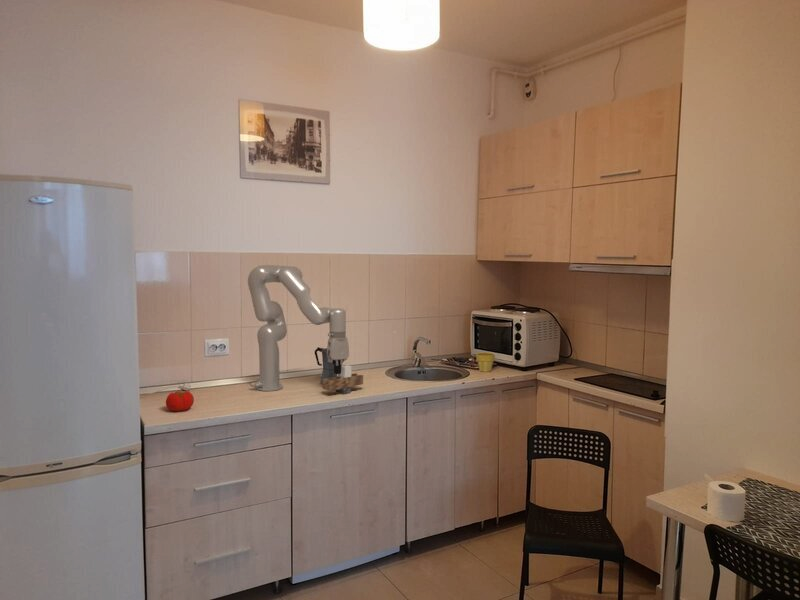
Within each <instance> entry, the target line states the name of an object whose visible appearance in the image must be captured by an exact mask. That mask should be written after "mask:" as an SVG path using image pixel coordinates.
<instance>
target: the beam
mask: <svg viewBox="0 0 800 600" xmlns="http://www.w3.org/2000/svg"><path fill="white" fill-rule="evenodd" d="M362 385H364V375H363V374H358V373H356V372H355V373H351V377H347V378H341V379H340V376H338V375H337V377H332V378H326V379H322V383H321V389H323V390H326V391H329V392H331V391H335V393H338V394H341V395H348V394H351V387H355V386H356V387H357V386H362Z"/></svg>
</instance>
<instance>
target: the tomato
mask: <svg viewBox="0 0 800 600" xmlns="http://www.w3.org/2000/svg"><path fill="white" fill-rule="evenodd" d="M194 398H195V397H194V395H193V393H191V392H190V391H188V390H185V391H180V390H179V391H178V390H177V391H174V392H171V393H169V394H168V395H167V396H166V399H165V406H166V408H167V409H168V410H170V411H173V412H176V413H177V412H183V411H187V410H189V409H191V408H192V406H193V405H194V404H195V403H194V401H195V399H194Z"/></svg>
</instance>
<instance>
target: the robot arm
mask: <svg viewBox="0 0 800 600" xmlns="http://www.w3.org/2000/svg"><path fill="white" fill-rule="evenodd" d="M269 283H281V284H282V285H283V286H284V287H285V289H287V291H288V292H289V293H290V295H291V296H292V297H293V298H294V299H295V300H296V303H297V307H298V308H299V310H300V311H301V313H302V314H303V316H305V318H306V319H307V320H308V321H309V322H310V323H312V324H313V325H315V326H321V325H324V324H327V323H329V333H328V334H327V337H328V340H327V347H326V348H327V358H328V362H330V363H332V364H333V365H334V373H335V374H337V375H338V374H341V365H343V363H344V362H346V361H347V360H348V359H349V357H350V347H349V345H350V344H349V340H348V337H347V336H346V334H347V333H346V332H347V331H346V328H347V327H346V325H347V324H346V323H347V321H346V319H347V318H346V317H347V314H346V310H345V309H344V308H331V307H318V306H317V305H316V303H315V302H314V301H313V300H312V298H311V288H310V286H309V285H308V284H307V283H306V282H305V281H304V280H303V272H302V270H301V269H300V268H299V267H298V266H294V265H293V266H291V265H289V266H287V265H279V264H278V265H277V264H275V265H274V264H272V265H271V264H264V265H258V266H256V267H254V268H253V269H252V270H251V271H250V272H249V274H248V277H247V286H248V289H249V293H250V296H251V297H250V298H251V302H252V307H253V310H254V311H253V312H254V315H255V318H256V319H257V321H259V322H262V323H263V322H264V323H265V322H267V323H266V324H264V325H261V326H260V327H259V328H258V330H257V333H256V334H257V335H256V336H257V338H256V339H257V343H258V356H259V357H258V360H259V369H258V371H259V372H258V373H259V377H258V378H259V379H257V381H255V382H249V383H250V384H249V386H250V388H253V387H256V388H255V389H256V390H258V391H261V392H269V391H270V392H274V391H279V390H282V389H283V388H284V385H283V384H281V383H280V348H279V344H278V342H280V341H282V340H283V339H285V338H286V336H287V333H288V329H287V324H286V319H285V315H284V311H283V307H282V306H281V304H280V303H279V302H277V301H275V300H271V297H270V293H269V290H268V288H267V286H266V284H269Z"/></svg>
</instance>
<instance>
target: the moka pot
mask: <svg viewBox="0 0 800 600" xmlns="http://www.w3.org/2000/svg"><path fill="white" fill-rule="evenodd" d="M318 352H321V357H322V359H321V360H322V363H320V361H319V355H318ZM314 356H315V359H316V363H317V366H321V367H322V372H321V377H320V384H322V379H326V378H332V377H338V374H335V373H334V365H333V364H332V363H330V362H328V358H327V347H326V348H324V347H319V346H318V347H316V349H315V350H314Z"/></svg>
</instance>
